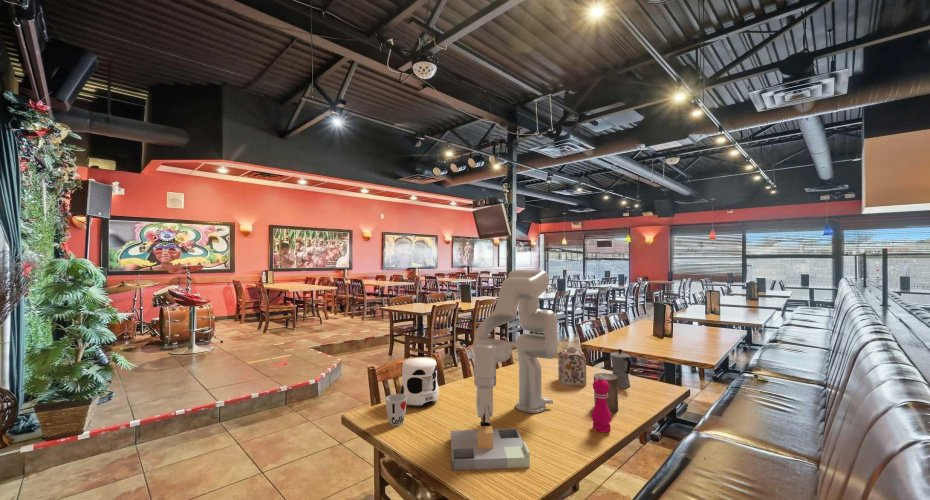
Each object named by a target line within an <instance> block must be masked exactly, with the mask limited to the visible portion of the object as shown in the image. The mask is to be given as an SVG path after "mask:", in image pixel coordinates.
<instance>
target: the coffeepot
mask: <svg viewBox="0 0 930 500" xmlns="http://www.w3.org/2000/svg"><path fill="white" fill-rule="evenodd" d="M617 350H618V352H611V353H610V361H611V366H612V373H611V374H613V375H616V376H617V383H618V389H619V388H621V389H627V388H630V387H631V383H630V376H629V374H630V370H631V364H632V361H631V359H630V358H631V356H630V354H627V353H624V352H622V351H623V350H622V349H620V348H619V349H617Z"/></svg>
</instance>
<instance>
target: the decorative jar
mask: <svg viewBox="0 0 930 500" xmlns="http://www.w3.org/2000/svg"><path fill="white" fill-rule="evenodd" d="M557 357H558V358H557V360H558V363H557V365H558V366H557V368H558V369H557V370H558V372H557V373H558V380H559V382H560V383H561V384H562V386H563V387H567V386H568V387H586V386H587V359H586V356H585V353H584V352H583V351H582V350H579V349H577V347H576V346H568V347H566V348H565V349H562V350H560V351H559V353H557Z"/></svg>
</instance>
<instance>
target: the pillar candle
mask: <svg viewBox="0 0 930 500" xmlns="http://www.w3.org/2000/svg"><path fill="white" fill-rule="evenodd" d="M600 375H602V376H603V380H606V381H607V382H608V384H609V387H610V388H609V391H608V392H607V393H608V398H607V405H608V408H609V410H610V413H615V412H618V411H619V390H618V389H619V387H618V383H617V376H616V375H613V374H612V373H607V372H597V373H594V374H593V382H594V381H595V380H597V379H599V378H598V377H599V376H600ZM594 392H595V390H594V389H593V393H594ZM593 396H594V395H593ZM593 398H594V404H595V403H596V398H595V396H594V397H593Z"/></svg>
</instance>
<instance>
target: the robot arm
mask: <svg viewBox="0 0 930 500" xmlns="http://www.w3.org/2000/svg"><path fill="white" fill-rule="evenodd" d="M549 285H550V277H549V273H547V271H545V270H541V269H540V270H538V269H537V270H536V269H535V270H534V269H516V270H511V271H510V272H509V273H508V275H507V278H505V279H504V280H503V281H502V283H501V287H500V290H499V293H498V297H497V300H496V304H495V308H494V310H493V311H492V312H491V313H490V314H489V315H487V317H486V318H484V320H482V322H481V323H480V324H479V326H478V327H477V329H476V332H475V335H474V339H473V342H472V343H473V344H472V352H473V365H474V366H473V372H474V374H473V375H474V376H473V381H474V382H473V383H474V386H475V387H476V405H475V406H476V413H477V416H478V418H480V426H491V418H492V417H493V416H494V387H496V385H497V363H503V362H506V361H508V360H509V359H510V357H511V356H512V353H513V348H512V345H511V344H510V343H509V342H508V341H506V340H503V339H496V338H491V337H490V338H489V337H488V336H489V335H490V333H491V332H492V331H493V330H494V329H496V328H497V327H499V326H502V325H504V324H507V323H510V322H512V321H514V320H515V319H516V318H517V314H518V319H519V320H518V321H519V326H520V328H521V329H522V330H524V331H527V333H521V334H520V335H518V337H517V339H516V343H515V344H516V346H515V347H516V351H517V356H518V387H519V388H518V393H519V394H518V396H519V397H518V399H519V400H518V401H517V402H515V409H517V410H518V411H521V412H523V413H526V414H538V413H542V412H544V411H545V410H546V404H549V405H552V404H554V401H553V398H549V397H544V396H542V391H543V390H542V365H541V363H540V361H539V359H546V360H552V359H555V358H556V357H557V356H558V350H559V347H558V345H559V342H558V340H559V339H558V318H557V316H556V314H555V312H554V311H552V310H549V309H541V308H540V298H539V297H540V296H541V295H543V293H544V292H545V291H546V290H547V289H548V287H549ZM518 311H519V313H518ZM528 332H535V333H528ZM536 333H537V334H536ZM538 333H543V334H538ZM538 358H539V359H538Z"/></svg>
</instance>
